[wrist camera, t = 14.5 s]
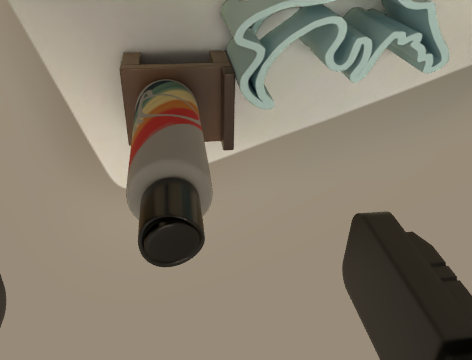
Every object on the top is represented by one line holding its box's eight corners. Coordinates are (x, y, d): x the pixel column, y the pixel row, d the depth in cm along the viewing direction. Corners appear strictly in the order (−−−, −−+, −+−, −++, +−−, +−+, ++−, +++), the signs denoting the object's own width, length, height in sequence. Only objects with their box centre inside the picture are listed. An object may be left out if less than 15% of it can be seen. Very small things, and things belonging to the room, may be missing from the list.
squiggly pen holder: (392, -64, 41) (447, -55, 34) (401, 38, 47) (449, 66, 39) (209, 0, 42) (220, 23, 34) (238, 93, 48) (253, 132, 40)
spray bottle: (163, 64, 40) (165, 187, 23) (209, 104, 42) (242, 240, 26) (123, 109, 41) (98, 254, 25) (170, 144, 44) (177, 297, 27)
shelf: (131, 123, 48) (127, 155, 42) (123, 52, 44) (117, 76, 38) (224, 119, 49) (233, 150, 43) (225, 50, 45) (235, 73, 39)
